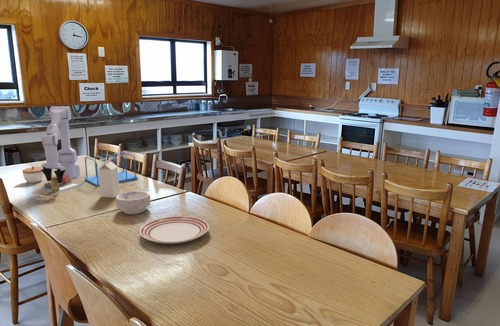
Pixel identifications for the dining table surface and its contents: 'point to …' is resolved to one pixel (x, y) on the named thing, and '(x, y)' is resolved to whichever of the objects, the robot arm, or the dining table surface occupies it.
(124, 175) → the file sorter
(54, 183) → the tan rounded peg
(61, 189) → the board
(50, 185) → the dome housing
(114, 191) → the milk carton
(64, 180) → the die
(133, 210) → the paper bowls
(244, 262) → the dining table surface
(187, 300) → the dining table surface
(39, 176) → the lidded jar
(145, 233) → the dinner plate
